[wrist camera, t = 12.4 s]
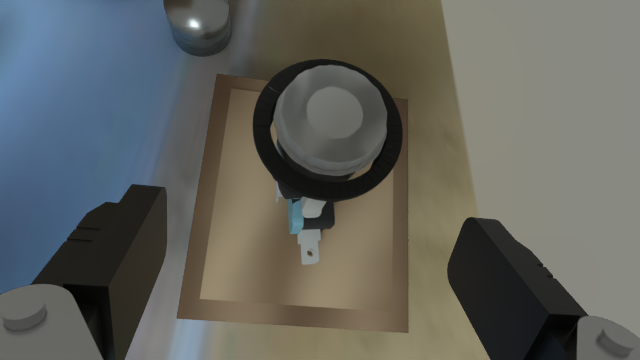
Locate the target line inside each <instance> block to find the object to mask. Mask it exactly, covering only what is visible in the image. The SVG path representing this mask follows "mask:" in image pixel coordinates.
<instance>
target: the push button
mask: <svg viewBox="0 0 640 360" xmlns="http://www.w3.org/2000/svg"><path fill="white" fill-rule="evenodd" d="M273 120H274V126H275V130H276V135H277V143H276V147H275V145H274V142H273V139H272V136H271V131H270V128H271V125H272V122H273ZM253 137H254V143H255V146H256V150H257V152H258V155H259V157H260V159H261V161H262V163H263V164H264V166H265V167H266V169H267V170H268V171H269V172H270V174H271V175H272V177H273V178H274V180H276V183H275V192H276V203H278V197H283V198H284V199H288V219H289V234H297V239H298V244H301V259H302V264H303V265H308V264H316V263H317V262H318V261H319V247H318V241H321V234H320V233H321V232H322V231H323V229H331V228H332V227H333V226H334V224H335V213H334V202H339V201H344V200H349V199H353V198H356V197H359V196H361V195H363V194H365V193H367V192H369V191H371V190H372V189H373V188H375V187H376V186H377V185H379V184H380V183H381V182H382V181H383V180H384V179H385V178H386V177H387V176H388V174H389V173H390V172H391V170H392V169H393V167H394V166H395V164H396V162H397V160H398V157H399V155H400V152H401V147H402V141H403V128H402V121H401V117H400V114H399V111H398V108H397V106H396V104H395V102H394V100H393V98H392V97H391V95H390V94H389V93H388V91H387V90H386V89H385V88H384V86H383V85H382V84H381V83H380V82H379V81H378V80H376V79H375V78H374V77H373V76H371V75H370V74H368V73H367V72H365V71H364V70H362V69H360V68H358V67H356V66H353V65H351V64H348V63H345V62H341V61H336V60H329V59H316V60H308V61H304V62H300V63H297V64H294V65H292V66H290V67H288V68H286V69H284V70H282V71H281V72H279V73H278V74H277V75H275V76H274V77H273V78H272V79H271V80H270V81H269V82H268V83H267V85H266V86H265V87H264V88H263V90H262V92H261V93H260V95H259V97H258V100H257V102H256V105H255V109H254V114H253ZM276 148H277V149H276ZM372 161H373V163H372V165H371V168H370V169H369V170H368V171H367V172H366V173H364V174H362V175H360V176H358V177H356V178H354V179H351V180H349V179H350V178H351V177H352V176H353V175H354V174H355V173H356V172H357V171H360V170H361V169H363V168H365V167H366V166H367V165H368V164H369V163H370V162H372ZM307 251H311V252H312V254H313V255H312V257H310V256H308V254H307Z"/></svg>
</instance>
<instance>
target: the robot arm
mask: <svg viewBox="0 0 640 360" xmlns="http://www.w3.org/2000/svg"><path fill="white" fill-rule="evenodd" d="M166 247H167V195H166V189H165V187H157V186H147V185H136V184H132V185H131V186H130V187H129V189H128V190H127V192H126V193H125V195H124V196H123V197H122V199H121V200H120V202H119V203H112V202H105V203H104V204H102V205H100V206H99V207H97V208H95V209H93V210H92V211H90V212H88V213H87V214H86V216H85V217H84V218H83V219H82V221H81V222H80V223H79V224H78V226H77V228H76V230H74V231H73V232H72V233H71V234H70V236H69V237H68V238H67V242H64V243H63V244H62V246H61V247H60V248H59V249H58V251H57V252H56V253H55V255H54V256H53V257H52V258H51V260H50V261H49V262H48V263H47V265H46V266H45V267H44V268H43V270H42V271H41V272H40V273H39V275H38V276H37V277H36V278H35V280H34V281H33V282H32V283H31V285H28V286H23V287H19V288H16V289H13V290H10V291H7V292H5V293H3V294H1V295H0V360H124V359H125V357H126V354H127V352H128V349H129V347H130V344H131V342H132V339H133V337H134V334H135V332H136V329H137V327H138V324H139V322H140V319H141V317H142V315H143V312H144V310H145V307H146V305H147V302H148V300H149V297H150V295H151V292H152V290H153V287H154V285H155V282H156V280H157V277H158V275H159V272H160V270H161V267H162V265H163V262H164V258H165V254H166ZM447 273H448V280H449V283H450V285H451V287H452V289H453V291H454V293H455V294H456V296H457V298H458V300H459V302H460V304H461V306H462V307H463V309H464V311H465V313H466V315H467V317H468V319H469V320H470V322H471V324H472V326H473V328H474V330H475V332H476V333H477V335H478V337H479V339H480V341H481V343H482V344H483V346H484V348H485V350H486V352H487V354H488V356H489V357H490V359H491V360H640V339H639V338H638V337H637V336H636V335H635V334H633V333H632V332H630V331H629V330H627V329H626V328H624V327H622V326H621V325H619V324H617V323H615V322H612V321H610V320H608V319H604V318H601V317H596V316H589V315H588V314H587V313H586V312H585V311H584V310H583V309H582V307H581V306H580V305H579V304H578V303H577V302H576V301H575V300H574V299H573V297H572V296H571V295H570V294H569V293H568V292H567V291H566V290H565V288H564V287H563V286H562V285H561V284H560V283H559V282H558V281H557V279H554V278H553V275H552V274H551V273H550V272H549V271H548V269H547V268H546V267H543V264H542V263H541V262H540V260H539V259H538V258H537V257H536V256H535V255H534V254H533V253H532V252H531V251H530V250H529V249H528V248H526V247H525V246H523V245H522V244H520V243H519V242H517V241H516V240H515V239H514V238H513V237H512V235H511V234H510V233H509V232H508V231H507V230H506V229H505V227H504V226H503V225H502V224H501V223H500V222H499V221H498V220H495V219H484V218H474V217H469V218H467V219H466V220H465V222H464V223H463V225H462V228H461V231H460V233H459V236H458V239H457V241H456V244H455V246H454V249H453V252H452V254H451V257H450V259H449V262H448V269H447Z"/></svg>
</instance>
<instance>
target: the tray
mask: <svg viewBox="0 0 640 360" xmlns="http://www.w3.org/2000/svg"><path fill="white" fill-rule="evenodd" d="M268 82H269V81H266V80H259V79H252V78H245V77H237V76H230V75H223V74H217V77H216V83H215V89H214V95H213V101H212V107H211V113H210V119H209V125H208V131H207V137H206V143H205V149H204V155H203V161H202V167H201V173H200V179H199V186H198V192H197V198H196V204H195V210H194V216H193V222H192V228H191V234H190V240H189V246H188V252H187V258H186V264H185V270H184V276H183V282H182V289H181V295H180V301H179V307H178V313H177V319H193V320H209V321H225V322H241V323H258V324H274V325H290V326H306V327H322V328H338V329H354V330H370V331H386V332H402V333H408V100H405V99H398V98H393V100H394V102H395V104H396V106H397V108H398V111H399V114H400V117H401V121H402V128H403V141H402V147H401V152H400V155H399V157H398V160H397V162H396V164H395V166H394V167H393V169H392V170H391V172H390V173H389V174H388V176H387V177H386V178H385V179H384V180H383V181H382V182H381V183H380V184H379V185H377V186H376V187H375V188H373V189H372V190H371V191H369V192H367V193H365V194H363V195H361V196H359V197H356V198H353V199H349V200H344V201H339V202H334V213H335V224H334V226H333V227H332V228H331V229H323V231H322V232H321V233H320V234H321V241H318V247H319V261H318V262H317V263H316V264H308V265H303V264H302V259H301V244H298V239H297V234H289V219H288V199H284V198H283V197H278V203H276V192H275V183H276V180H274V178H273V177H272V175H271V174H270V172H269V171H268V170H267V169H266V167H265V166H264V164H263V163H262V161H261V159H260V157H259V155H258V152H257V150H256V146H255V143H254V137H253V114H254V109H255V105H256V102H257V100H258V97H259V95H260V93H261V92H262V90H263V88H264V87H265V86H266V85H267V83H268ZM270 131H271V136H272V139H273V142H274V145H275V147H276V143H277V135H276V130H275V126H274V120H273V122H272V125H271V128H270ZM276 149H277V148H276ZM372 163H373V161H372V162H370V163H369V164H368V165H367V166H366V167H365V168H363V169H361V170H360V171H357V172H356V173H355V174H354V175H353V176H352V177H351V178H350V179H349V180H351V179H354V178H356V177H358V176H360V175H362V174H364V173H366V172H367V171H368V170H369V169H370V168H371V165H372ZM307 254H308V256H310V257H312V255H313V254H312V252H311V251H307Z"/></svg>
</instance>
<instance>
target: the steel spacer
mask: <svg viewBox="0 0 640 360" xmlns="http://www.w3.org/2000/svg"><path fill="white" fill-rule="evenodd" d="M164 8H165V11H166V14H167V18H168V21H169V24H170V28H171V31H172V34H173V37H174V40H175V42H176V44H177V45H178V46H179V47H180V48H181V49H182V50H183V51H185V52H187V53H189V54H191V55H195V56H211V55H214V54H217V53H219V52H220V51H222V50H223V49H224V48H225V47H226V46H227V45H228V43H229V41H230V38H231V25H230V14H229V3H228V0H164Z"/></svg>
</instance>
